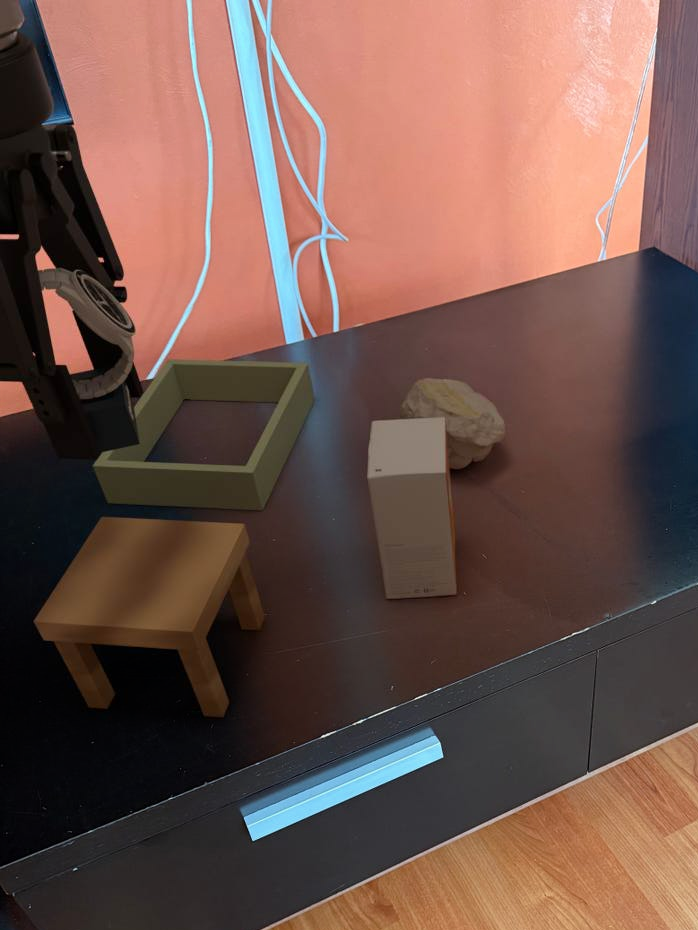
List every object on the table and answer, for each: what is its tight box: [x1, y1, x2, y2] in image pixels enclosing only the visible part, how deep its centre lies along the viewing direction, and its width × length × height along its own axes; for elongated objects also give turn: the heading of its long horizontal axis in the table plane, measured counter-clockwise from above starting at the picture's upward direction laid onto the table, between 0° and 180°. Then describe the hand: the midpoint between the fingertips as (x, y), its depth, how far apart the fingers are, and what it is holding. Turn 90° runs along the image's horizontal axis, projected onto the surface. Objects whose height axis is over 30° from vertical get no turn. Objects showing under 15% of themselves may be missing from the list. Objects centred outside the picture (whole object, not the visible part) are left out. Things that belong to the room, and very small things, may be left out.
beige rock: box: [400, 377, 506, 470], centre depth 95 cm, size 12×8×10 cm
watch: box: [38, 267, 140, 454], centre depth 62 cm, size 6×8×11 cm
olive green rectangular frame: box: [92, 358, 316, 511], centre depth 98 cm, size 16×20×4 cm
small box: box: [366, 417, 458, 600], centre depth 80 cm, size 8×6×13 cm
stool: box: [33, 516, 266, 718], centre depth 75 cm, size 12×12×10 cm
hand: (102, 423), depth 66 cm, fingers closed on watch, 7 cm apart
